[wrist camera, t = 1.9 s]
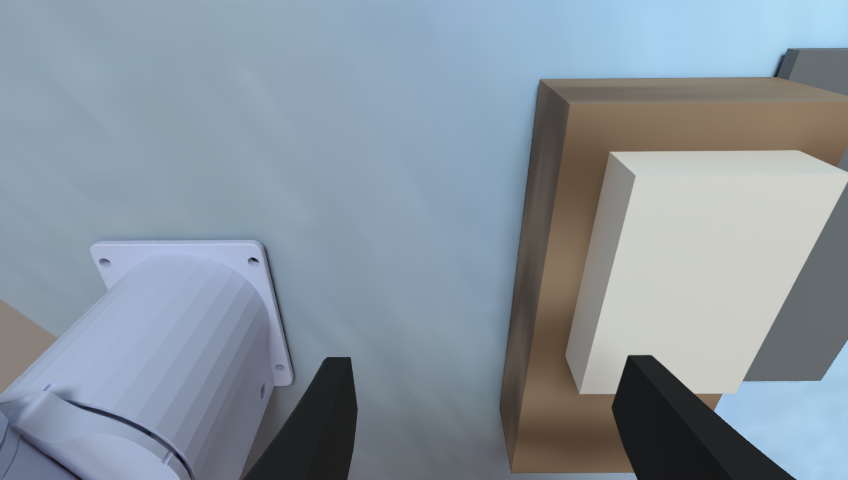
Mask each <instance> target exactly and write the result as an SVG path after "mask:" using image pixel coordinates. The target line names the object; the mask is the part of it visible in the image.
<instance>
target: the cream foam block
mask: <svg viewBox="0 0 848 480" xmlns="http://www.w3.org/2000/svg"><path fill="white" fill-rule="evenodd" d="M847 182H848V172H846V171H844V170H841V169H839V168H837V167H835V166H832V165H830V164H828V163H826V162H823V161H821V160H819V159H817V158H814V157H812V156H810V155H808V154H805V153H803V152H801V151H799V150H777V151H650V152H609V157H608V161H607V166H606V171H605V175H604V180H603V184H602V189H601V194H600V198H599V203H598V207H597V212H596V216H595V221H594V226H593V230H592V235H591V239H590V244H589V249H588V253H587V258H586V262H585V267H584V272H583V276H582V281H581V285H580V290H579V294H578V299H577V304H576V308H575V313H574V317H573V322H572V327H571V331H570V336H569V340H568V345H567V350H566V354H565V357H566V359H567V362H568V365H569V367H570V370H571V373H572V375H573V378H574V381H575V383H576V386H577V389H578V391H579V394H616V391H617V388H618V385H619V382H620V379H621V375H622V372H623V369H624V366H625V363H626V360H627V356H628V355H652V356H653V357H655V358H656V359H657V360H658V361H659V362H660V363H661V364H662V365H663V366H665V367H666V368H667V369H668V370H669V371H670V372H671V373H672V374H673V375H674V376H675V377H677V378H678V379H679V380H680V381H681V382H682V383H683V384H684V385H685V386H686V387H687V388H689V389H690V390H691V391H692V392H693V393H694V394H724V393H736V392H737V390H738V388H739V387H740V385H741V383H742V381H743V379H744V377H745V375H746V373H747V371H748V369H749V368H750V366H751V364H752V362H753V360H754V358H755V356H756V354H757V352H758V351H759V349H760V347H761V345H762V343H763V341H764V339H765V337H766V335H767V334H768V332H769V330H770V328H771V326H772V324H773V322H774V320H775V318H776V316H777V315H778V313H779V311H780V309H781V307H782V305H783V303H784V301H785V299H786V298H787V296H788V294H789V292H790V290H791V288H792V286H793V284H794V282H795V281H796V279H797V277H798V275H799V273H800V271H801V269H802V267H803V265H804V263H805V262H806V260H807V258H808V256H809V254H810V252H811V250H812V248H813V246H814V245H815V243H816V241H817V239H818V237H819V235H820V233H821V231H822V229H823V228H824V226H825V224H826V222H827V220H828V218H829V216H830V214H831V212H832V210H833V209H834V207H835V205H836V203H837V201H838V199H839V197H840V195H841V193H842V192H843V190H844V188H845V186H846V184H847Z"/></svg>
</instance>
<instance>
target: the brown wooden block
mask: <svg viewBox="0 0 848 480" xmlns="http://www.w3.org/2000/svg"><path fill="white" fill-rule="evenodd" d="M847 146H848V96H846V95H843V94H839V93H835V92H831V91H827V90H824V89H820V88H816V87H812V86H808V85H805V84H801V83H797V82H793V81H789V80H786V79H782V78H778V77H736V78H623V79H540V82H539V90H538V98H537V107H536V115H535V123H534V131H533V139H532V148H531V156H530V164H529V172H528V181H527V189H526V197H525V205H524V213H523V222H522V230H521V238H520V246H519V254H518V263H517V271H516V279H515V287H514V295H513V304H512V312H511V320H510V328H509V336H508V345H507V353H506V361H505V369H504V378H503V386H502V394H501V402H500V413H501V419H502V424H503V430H504V436H505V441H506V447H507V453H508V458H509V464H510V470H511V473H634V470H633V468H632V466H631V463H630V461H629V459H628V457H627V454H626V452H625V450H624V447H623V444H622V441H621V438H620V435H619V432H618V429H617V425H616V422H615V419H614V415H613V412H612V408H611V407H612V404H613V401H614V398H615V394H579V391H578V389H577V386H576V383H575V381H574V378H573V375H572V373H571V370H570V367H569V365H568V362H567V359H566V357H565V354H566V350H567V345H568V340H569V336H570V331H571V327H572V322H573V317H574V313H575V308H576V304H577V299H578V294H579V290H580V285H581V281H582V276H583V272H584V267H585V262H586V258H587V253H588V249H589V244H590V239H591V235H592V230H593V226H594V221H595V216H596V212H597V207H598V203H599V198H600V194H601V189H602V184H603V180H604V175H605V171H606V166H607V161H608V157H609V152H650V151H777V150H799V151H801V152H803V153H805V154H808V155H810V156H812V157H814V158H817V159H819V160H821V161H823V162H826V163H828V164H830V165H832V166H835V167H837V166H838V164H839V162H840V160H841V158H842V156H843V154H844V152H845V150H846V148H847ZM695 395H696V396H697V397H698V398H699V399H701V400H702V401H703V402H704V403H705V404H706V405H707V406H708V407H709V408H711V409H712V410H713V411H714V410H715V408H716V406H717V404H718V402H719V400H720V398H721V396H722V394H695Z"/></svg>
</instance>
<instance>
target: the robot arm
mask: <svg viewBox="0 0 848 480" xmlns="http://www.w3.org/2000/svg"><path fill="white" fill-rule="evenodd" d="M90 252H91V255H92V257H93V259H94V261H95V263H96V266H97V268H98V270H99V272H100V274H101V276H102V278H103V280H104V282H105V284H106V287H107V289H108V291H107V292H106V293H105V294H104V295H103V296H102V297H101V298H100V299H99V300H98V301H97V302H96V303H95V304H94V305H93V306H92V307H91V308H90V309H89V310H88V311H87V312H85V313H84V314H83V315H82V316H81V317H80V318H79V319H78V320H77V321H76V322H75V323H74V324H73V325H72V326H71V327H70V328H69V329H68V330H67V331H66V332H65V333H64V334H63V335H62V336H61V337H60V338H59V339H58V340H57V341H56V342H54V343H53V344H52V345H51V346H50V347H49V349H47V350H46V351H45V352H44V353H43V354H42V355H41V356H40V357H39V358H38V359H37V360H36V361H35V362H34V363H33V364H32V365H31V366H30V367H29V368H28V369H27V370H26V371H25V372H24V373H23V374H21V375H20V377H18V378H17V379H16V380H15V381H14V382H13V383H12V384H11V385H10V386H9V387H8V388H7V389H6V390H5V391H4V392H3V393H2V394H1V395H0V480H239V479H240V476H241V474H242V471H243V468H244V466H245V463H246V460H247V458H248V455H249V452H250V450H251V447H252V444H253V442H254V439H255V436H256V434H257V431H258V428H259V426H260V423H261V420H262V418H263V415H264V412H265V410H266V407H267V404H268V402H269V399H270V396H271V394H272V391H273V388H274V386H288V385H290V384H291V383H292V381H293V378H294V375H293V371H292V366H291V362H290V358H289V353H288V349H287V345H286V340H285V336H284V332H283V328H282V323H281V319H280V315H279V310H278V306H277V302H276V297H275V293H274V289H273V284H272V280H271V276H270V271H269V267H268V263H267V258H266V254H265V250H264V247H263V245H262V244H261V243H259V242H257V241H255V240H174V241H99V242H97V243H95V244H94V245H93V246H92V247H91V248H90ZM251 257H253V258H256V259H258V261H259V262H254V261H253V260H252V259H251ZM105 259H107V260H109V262H110V263H109V262H108V261H106V260H105ZM279 364H280V365H279ZM281 365H283V366H281ZM611 408H612V412H613V415H614V419H615V422H616V425H617V429H618V432H619V435H620V438H621V441H622V444H623V447H624V450H625V452H626V454H627V457H628V459H629V461H630V463H631V466H632V468H633V470H634V473H635V475H636V477H637V479H638V480H796V479H795V478H794V477H792V476H791V475H790V474H788V473H787V472H786V471H784V470H783V469H782V468H781V467H779V466H778V465H777V464H776V463H774V462H773V461H772V460H771V459H769V458H768V457H767V456H766V455H765V454H763V453H762V452H761V451H760V450H758V449H757V448H756V447H755V446H753V445H752V444H751V443H750V442H749V441H747V440H746V439H745V438H744V437H743V436H742V435H740V434H739V433H738V432H737V431H736V430H734V429H733V428H732V427H731V426H730V425H729V424H728V423H726V422H725V421H724V420H723V419H722V418H721V417H720V416H718V415H717V414H716V413H715V412H714V411H713V410H712V409H711V408H709V407H708V406H707V405H706V404H705V403H704V402H703V401H702V400H701V399H699V398H698V397H697V396H696V395H695V394H694V393H693V392H692V391H691V390H690V389H689V388H687V387H686V386H685V385H684V384H683V383H682V382H681V381H680V380H679V379H678V378H677V377H675V376H674V375H673V374H672V373H671V372H670V371H669V370H668V369H667V368H666V367H665V366H663V365H662V364H661V363H660V362H659V361H658V360H657V359H656V358H655V357H653V356H652V355H628V356H627V360H626V363H625V366H624V369H623V372H622V375H621V379H620V382H619V385H618V388H617V391H616V394H615V398H614V401H613V404H612V407H611ZM357 411H358V408H357V401H356V394H355V386H354V379H353V371H352V364H351V357H327V358H326V359H325V360H324V361H323V362H322V364H321V366H320V368H319V370H318V372H317V373H316V375H315V377H314V379H313V380H312V382H311V384H310V385H309V387H308V389H307V390H306V392H305V393H304V395H303V397H302V398H301V400H300V401H299V403H298V405H297V406H296V408H295V409H294V411H293V412H292V413H291V415H290V416H289V418H288V419H287V421H286V422H285V424H284V425H283V427H282V428H281V430H280V431H279V433H278V434H277V435H276V437H275V438H274V440H273V441H272V442H271V444H270V445H269V446H268V448H267V449H266V450H265V452H264V453H263V454H262V456H261V457H260V458H259V460H258V461H257V462H256V464H255V465H254V466H253V468H252V469H251V470H250V471H249V473H248V474H247V475H246V476H245V478H244V479H243V480H347V478H348V473H349V468H350V463H351V458H352V454H353V448H354V440H355V431H356V421H357Z"/></svg>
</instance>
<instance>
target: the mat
mask: <svg viewBox="0 0 848 480" xmlns="http://www.w3.org/2000/svg"><path fill="white" fill-rule="evenodd" d="M777 77H778V78H782V79H786V80H789V81H793V82H797V83H801V84H805V85H808V86H812V87H816V88H820V89H824V90H827V91H831V92H835V93H839V94H843V95H846V96H848V48H797V49H787V52H786V55H785V57H784V60H783V62H782V65H781V67H780V70H779V73H778V75H777ZM837 168H839V169H841V170H844V171H846V172H848V146H847V148H846V150H845V152H844V154H843V156H842V158H841V160H840V162H839V164H838V166H837ZM847 340H848V182H847V184H846V186H845V188H844V190H843V192H842V193H841V195H840V197H839V199H838V201H837V203H836V205H835V207H834V209H833V210H832V212H831V214H830V216H829V218H828V220H827V222H826V224H825V226H824V228H823V229H822V231H821V233H820V235H819V237H818V239H817V241H816V243H815V245H814V246H813V248H812V250H811V252H810V254H809V256H808V258H807V260H806V262H805V263H804V265H803V267H802V269H801V271H800V273H799V275H798V277H797V279H796V281H795V282H794V284H793V286H792V288H791V290H790V292H789V294H788V296H787V298H786V299H785V301H784V303H783V305H782V307H781V309H780V311H779V313H778V315H777V316H776V318H775V320H774V322H773V324H772V326H771V328H770V330H769V332H768V334H767V335H766V337H765V339H764V341H763V343H762V345H761V347H760V349H759V351H758V352H757V354H756V356H755V358H754V360H753V362H752V364H751V366H750V368H749V369H748V371H747V373H746V375H745V377H744V379H743V381H821V379H822V378H823V376H824V375H825V373H826V372H827V370H828V369H829V367H830V366H831V364H832V363H833V361H834V360H835V358H836V357H837V355H838V354H839V352H840V351H841V349H842V348H843V346H844V345H845V343H846V342H847Z"/></svg>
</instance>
